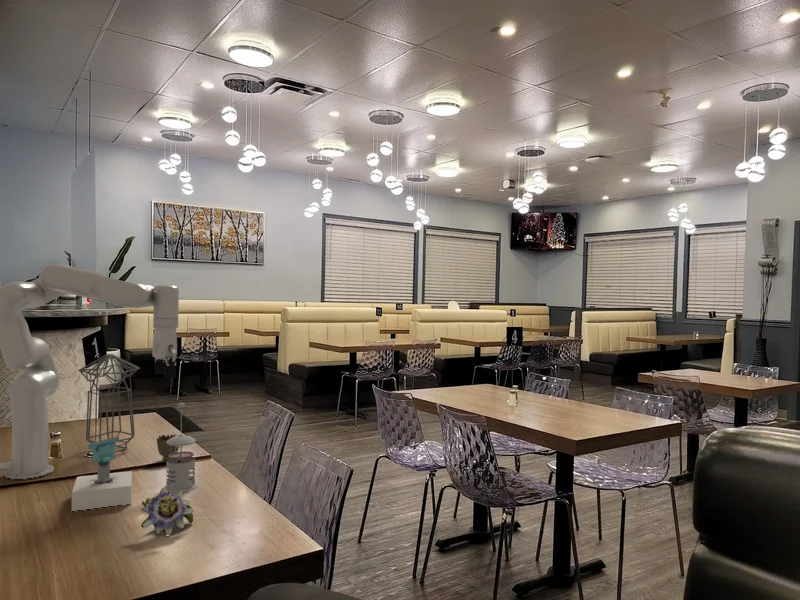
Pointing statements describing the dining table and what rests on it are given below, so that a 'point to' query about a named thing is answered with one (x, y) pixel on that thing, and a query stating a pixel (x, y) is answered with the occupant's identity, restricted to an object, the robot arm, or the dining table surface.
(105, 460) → the teal strapped cylinder
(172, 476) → the french press
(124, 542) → the dining table surface
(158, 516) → the passion flower
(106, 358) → the geometric lantern
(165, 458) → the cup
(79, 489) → the block
